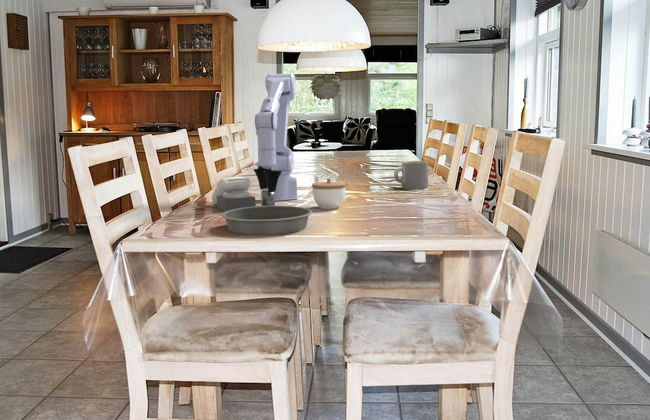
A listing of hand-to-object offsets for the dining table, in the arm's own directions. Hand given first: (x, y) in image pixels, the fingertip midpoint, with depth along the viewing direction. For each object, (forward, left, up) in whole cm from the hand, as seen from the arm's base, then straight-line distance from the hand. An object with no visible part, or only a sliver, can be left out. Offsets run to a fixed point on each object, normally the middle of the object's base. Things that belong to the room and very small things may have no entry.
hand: (267, 190), depth 233 cm
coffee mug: (-65, -17, -5) cm, 67 cm away
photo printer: (+11, -12, -4) cm, 17 cm away
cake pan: (+14, +37, -6) cm, 40 cm away
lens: (0, 0, -5) cm, 5 cm away
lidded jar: (-16, +13, -5) cm, 21 cm away
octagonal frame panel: (+11, 0, -5) cm, 12 cm away
